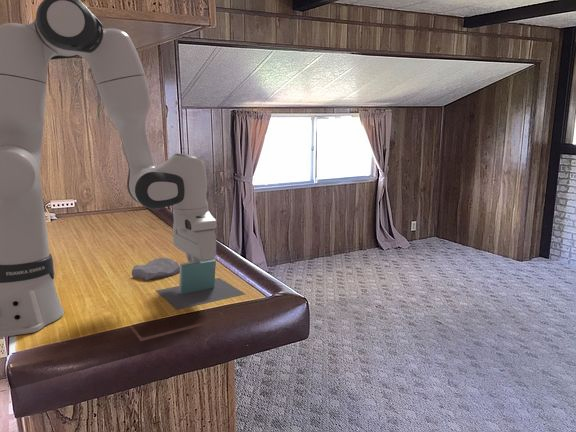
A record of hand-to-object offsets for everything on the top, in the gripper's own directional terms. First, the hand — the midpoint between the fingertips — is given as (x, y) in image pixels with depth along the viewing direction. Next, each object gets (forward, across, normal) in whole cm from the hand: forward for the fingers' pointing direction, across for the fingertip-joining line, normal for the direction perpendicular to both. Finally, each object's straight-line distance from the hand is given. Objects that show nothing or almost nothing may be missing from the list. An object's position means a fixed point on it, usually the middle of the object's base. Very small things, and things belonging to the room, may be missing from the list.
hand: (194, 270), depth 123 cm
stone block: (+6, -19, -4) cm, 20 cm away
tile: (+5, +1, 0) cm, 5 cm away
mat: (+6, +3, 0) cm, 6 cm away
